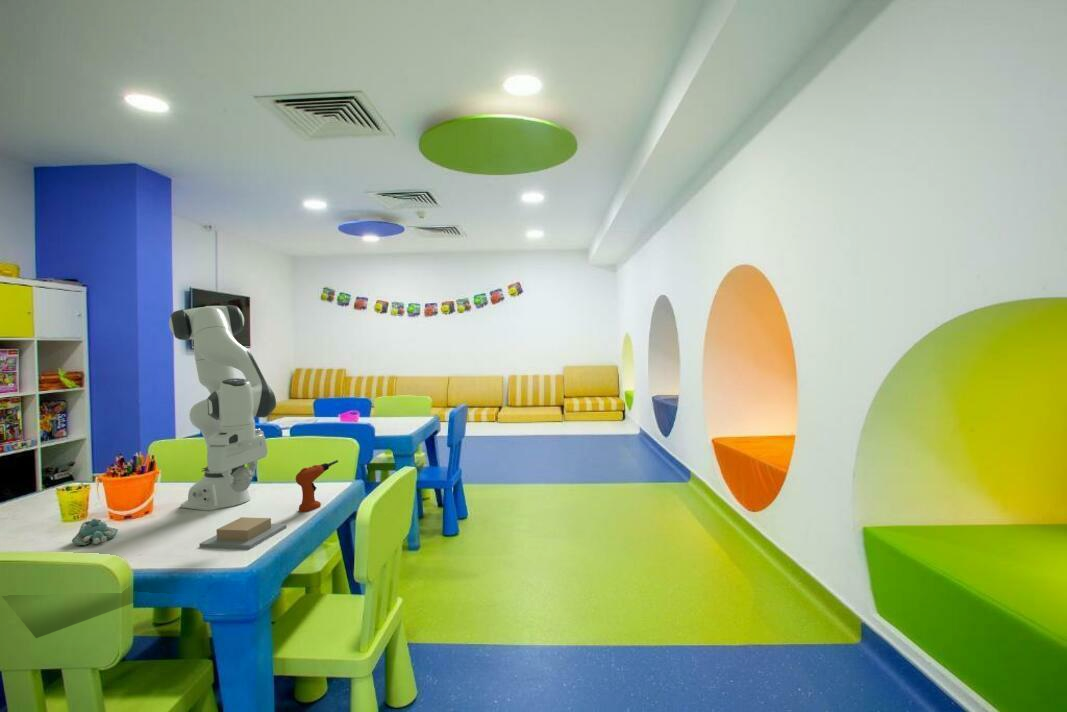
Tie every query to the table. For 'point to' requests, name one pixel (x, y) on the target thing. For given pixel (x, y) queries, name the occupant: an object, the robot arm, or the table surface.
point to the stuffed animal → (94, 532)
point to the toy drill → (310, 485)
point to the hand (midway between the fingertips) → (240, 480)
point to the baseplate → (243, 543)
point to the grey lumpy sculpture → (242, 479)
